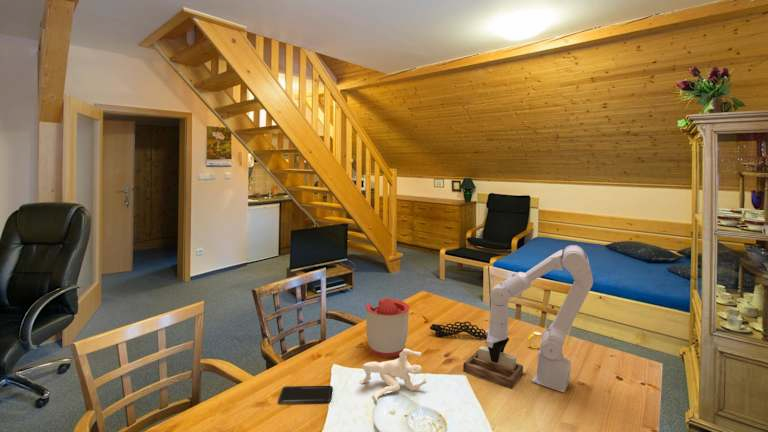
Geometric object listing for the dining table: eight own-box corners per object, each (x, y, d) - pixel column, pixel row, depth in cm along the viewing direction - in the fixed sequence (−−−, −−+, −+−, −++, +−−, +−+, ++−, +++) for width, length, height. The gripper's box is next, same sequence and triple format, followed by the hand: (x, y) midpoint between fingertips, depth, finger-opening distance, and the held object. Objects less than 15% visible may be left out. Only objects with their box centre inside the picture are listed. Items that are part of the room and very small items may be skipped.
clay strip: (515, 370, 129) (516, 356, 128) (512, 374, 127) (513, 359, 126) (480, 359, 136) (481, 345, 136) (477, 362, 134) (478, 348, 134)
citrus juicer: (383, 335, 156) (384, 286, 153) (417, 351, 143) (418, 298, 141) (353, 348, 145) (353, 296, 142) (386, 366, 132) (388, 309, 130)
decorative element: (485, 335, 158) (486, 321, 157) (488, 341, 153) (488, 326, 152) (429, 332, 160) (429, 319, 159) (429, 338, 155) (430, 324, 154)
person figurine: (366, 368, 111) (420, 345, 118) (351, 357, 122) (402, 337, 130) (376, 413, 111) (430, 387, 118) (361, 397, 123) (411, 375, 130)
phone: (331, 401, 112) (277, 401, 111) (331, 404, 112) (277, 405, 111) (333, 385, 120) (283, 386, 119) (333, 388, 120) (283, 389, 119)
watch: (542, 347, 149) (544, 332, 148) (544, 350, 146) (547, 335, 145) (526, 345, 149) (528, 330, 148) (528, 348, 146) (530, 333, 146)
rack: (522, 373, 130) (523, 365, 129) (511, 388, 121) (511, 380, 120) (477, 358, 139) (477, 350, 139) (463, 371, 130) (463, 363, 130)
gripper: (495, 311, 138) (492, 348, 140) (478, 324, 126) (475, 364, 128) (515, 316, 133) (512, 354, 135) (499, 330, 122) (496, 371, 124)
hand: (496, 359), depth 131 cm, fingers closed on clay strip, 2 cm apart
